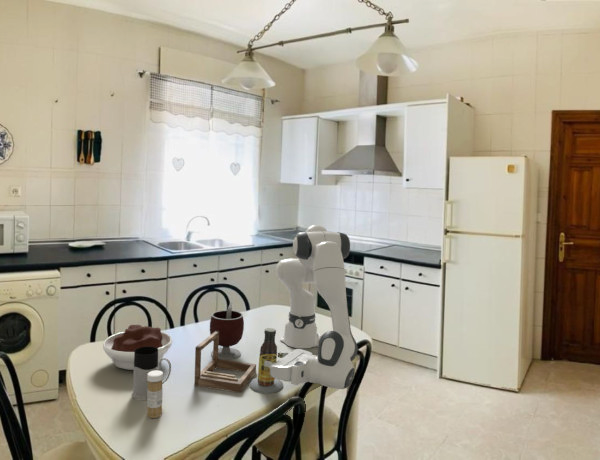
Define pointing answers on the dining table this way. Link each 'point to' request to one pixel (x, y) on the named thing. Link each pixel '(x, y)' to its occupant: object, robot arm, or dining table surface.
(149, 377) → the sprinkles bottle
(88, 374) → the dining table surface
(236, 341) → the mate gourd
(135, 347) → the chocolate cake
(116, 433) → the dining table surface
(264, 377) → the sauce bottle
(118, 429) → the dining table surface
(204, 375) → the birch offcuts
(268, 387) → the slate mat
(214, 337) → the walnut rack
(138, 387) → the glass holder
